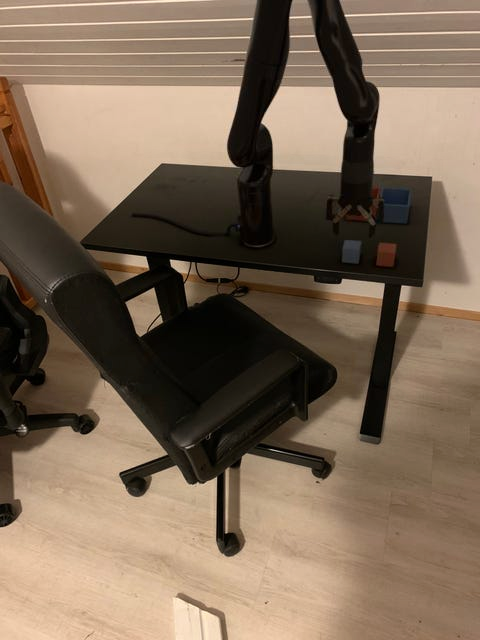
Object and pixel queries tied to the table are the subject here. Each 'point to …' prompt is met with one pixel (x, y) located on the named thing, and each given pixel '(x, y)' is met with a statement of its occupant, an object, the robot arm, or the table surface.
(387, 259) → the terracotta block
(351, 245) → the blue block
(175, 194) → the table surface
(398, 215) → the blue bin
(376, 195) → the terracotta bin
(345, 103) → the robot arm
